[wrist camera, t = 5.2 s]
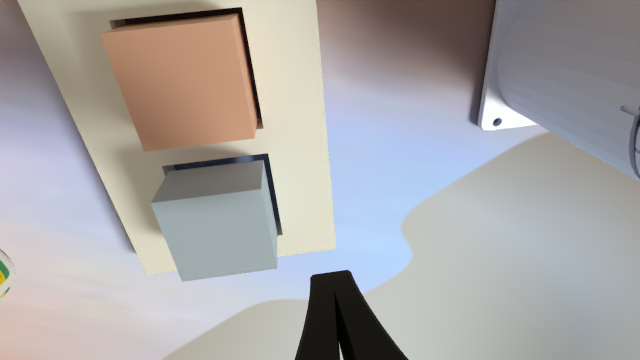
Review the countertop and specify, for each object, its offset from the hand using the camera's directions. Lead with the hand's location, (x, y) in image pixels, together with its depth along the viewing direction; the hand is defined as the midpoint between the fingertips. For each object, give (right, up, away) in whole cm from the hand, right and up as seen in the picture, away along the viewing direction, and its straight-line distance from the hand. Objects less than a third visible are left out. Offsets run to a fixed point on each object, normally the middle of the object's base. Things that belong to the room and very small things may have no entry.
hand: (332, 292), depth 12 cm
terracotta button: (-6, +9, +5) cm, 12 cm away
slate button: (-6, +3, +7) cm, 10 cm away
